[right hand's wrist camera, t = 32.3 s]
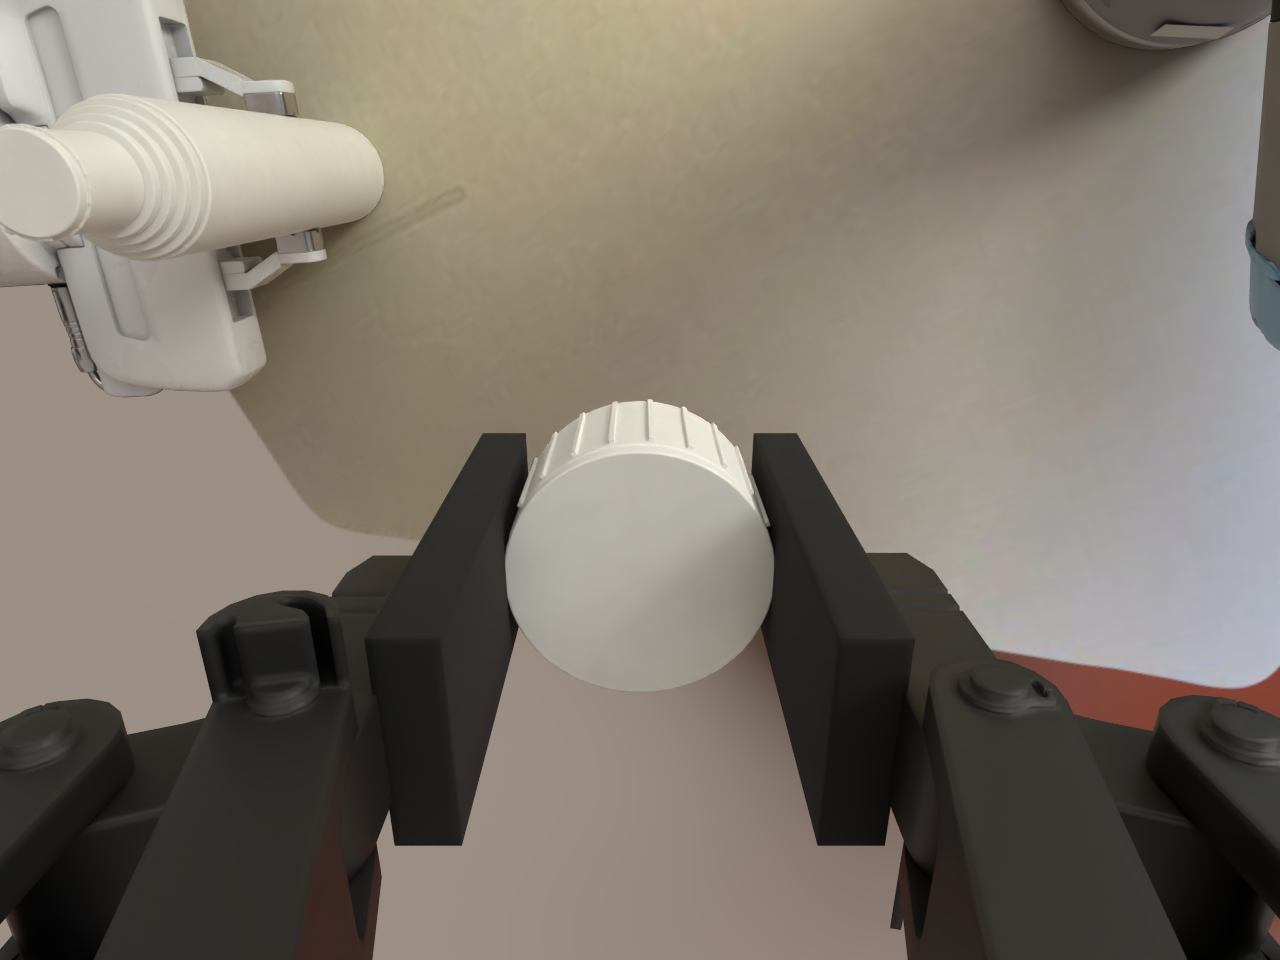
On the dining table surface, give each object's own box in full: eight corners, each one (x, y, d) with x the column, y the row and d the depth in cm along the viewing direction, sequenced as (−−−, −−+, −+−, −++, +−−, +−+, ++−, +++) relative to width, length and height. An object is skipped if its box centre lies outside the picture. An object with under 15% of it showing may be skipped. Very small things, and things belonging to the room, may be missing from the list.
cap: (478, 528, 15) (445, 603, 12) (617, 347, 13) (612, 388, 11) (659, 647, 15) (662, 739, 13) (803, 488, 14) (837, 556, 12)
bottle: (281, 124, 44) (-106, 81, 21) (376, 120, 44) (92, 74, 21) (299, 224, 46) (-37, 284, 23) (390, 220, 45) (144, 278, 23)
